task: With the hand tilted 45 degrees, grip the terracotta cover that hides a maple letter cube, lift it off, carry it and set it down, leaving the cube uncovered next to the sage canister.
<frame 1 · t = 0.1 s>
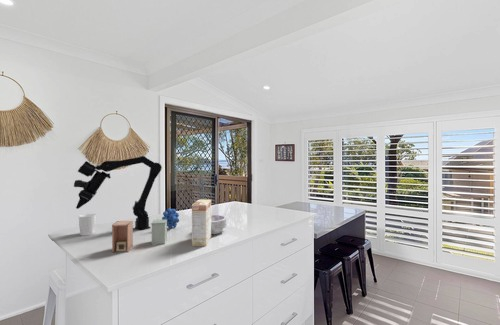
hand: (78, 206, 139), 15 cm above the counter, tool tilted 35°, fingers open, 9 cm apart
maple cube: (122, 245, 118), in the terracotta cover
white cup: (87, 234, 141), on the counter
sage canister: (159, 242, 129), on the counter
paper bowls: (212, 232, 146), on the counter
terracotta cover: (122, 249, 118), on the counter
grapes: (171, 229, 152), on the counter
coffeecake box: (202, 241, 130), on the counter
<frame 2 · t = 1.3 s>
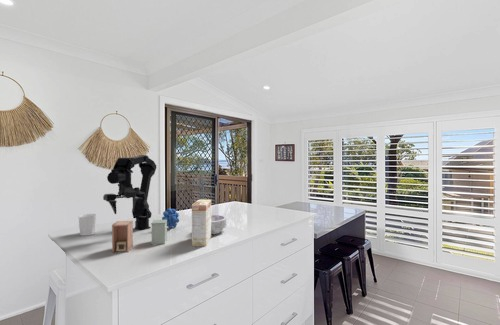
hand: (124, 212, 135), 13 cm above the counter, tool pointing down, fingers open, 9 cm apart
nothing on the counter moved.
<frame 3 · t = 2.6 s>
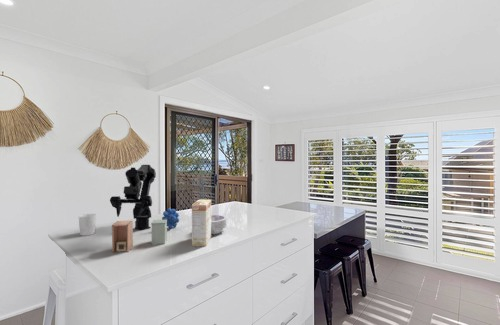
hand: (128, 216, 126), 13 cm above the counter, tool tilted 45°, fingers open, 9 cm apart
nothing on the counter moved.
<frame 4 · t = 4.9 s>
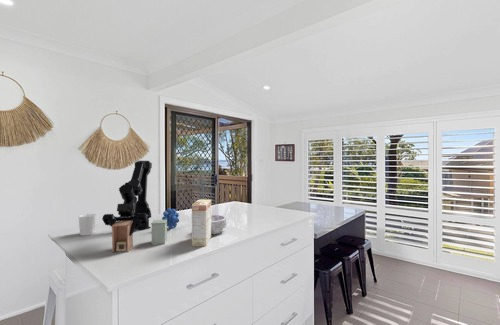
hand: (121, 235, 117), 7 cm above the counter, tool tilted 45°, fingers closed on terracotta cover, 7 cm apart
terracotta cover: (122, 249, 118), on the counter, touching gripper
everything else where it was.
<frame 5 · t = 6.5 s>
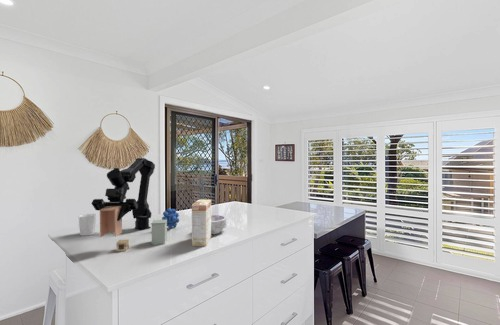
hand: (109, 220, 116), 13 cm above the counter, tool tilted 45°, fingers closed on terracotta cover, 7 cm apart
terracotta cover: (111, 234, 118), point 7 cm above the counter, touching gripper
everything else where it was.
when the fingers open (8 cm above the counter, at t = 8.6 s): terracotta cover drops 1 cm, on the counter.
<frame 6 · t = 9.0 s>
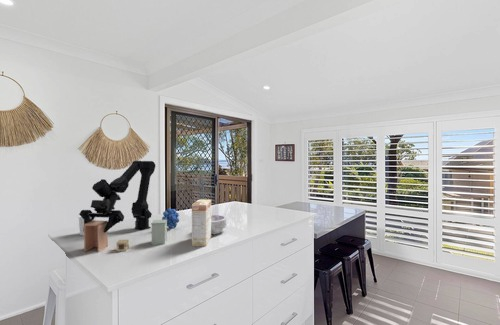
hand: (94, 232, 117), 8 cm above the counter, tool tilted 45°, fingers open, 9 cm apart
terracotta cover: (96, 249, 119), on the counter
everything else where it was.
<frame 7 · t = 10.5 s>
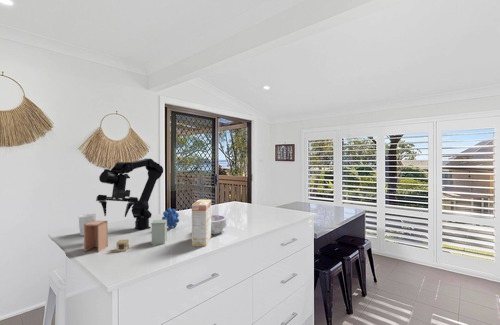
hand: (115, 216, 133), 11 cm above the counter, tool tilted 15°, fingers open, 9 cm apart
nothing on the counter moved.
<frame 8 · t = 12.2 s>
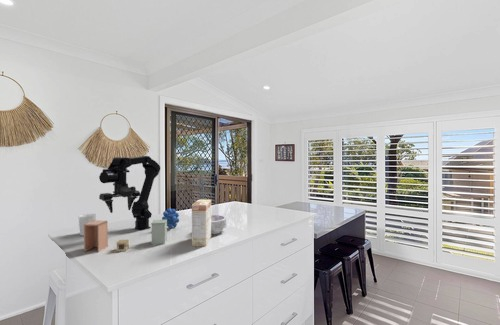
hand: (120, 211, 137), 13 cm above the counter, tool pointing down, fingers open, 9 cm apart
nothing on the counter moved.
at the end: terracotta cover moved 12.2 cm from its start; maple cube moved 0.1 cm from its start; terracotta cover tilted 0° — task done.
